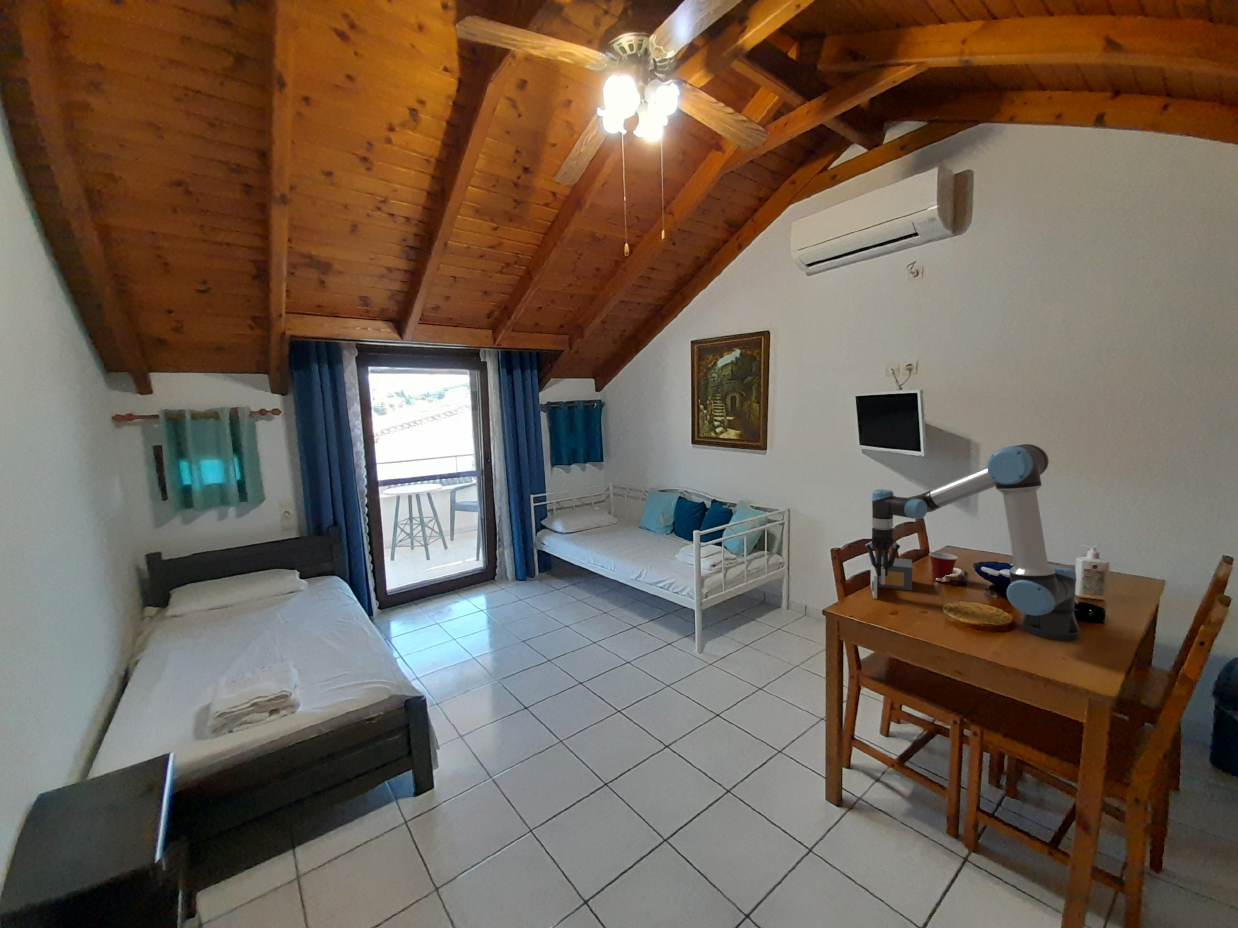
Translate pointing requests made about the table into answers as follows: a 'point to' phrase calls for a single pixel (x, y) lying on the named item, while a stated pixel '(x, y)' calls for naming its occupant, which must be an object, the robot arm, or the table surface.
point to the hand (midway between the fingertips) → (882, 583)
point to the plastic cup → (942, 564)
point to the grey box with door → (898, 575)
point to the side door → (873, 582)
